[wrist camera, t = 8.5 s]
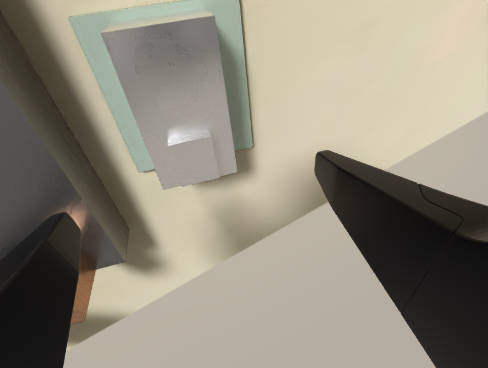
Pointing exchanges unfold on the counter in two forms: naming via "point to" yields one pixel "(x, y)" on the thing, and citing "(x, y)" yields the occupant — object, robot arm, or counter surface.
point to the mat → (89, 36)
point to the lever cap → (176, 93)
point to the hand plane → (49, 173)
